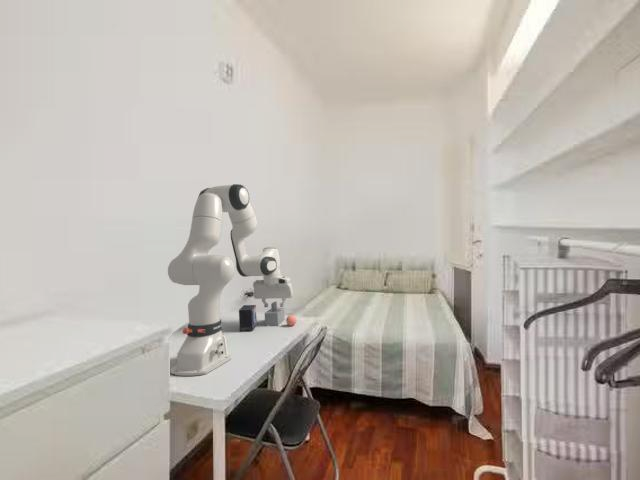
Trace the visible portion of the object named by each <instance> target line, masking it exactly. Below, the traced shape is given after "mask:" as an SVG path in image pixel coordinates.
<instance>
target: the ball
mask: <svg viewBox="0 0 640 480" xmlns="http://www.w3.org/2000/svg"><path fill="white" fill-rule="evenodd" d="M285 321H286V324H287V325H288V326H290V327H291V326H292V327H293V326H295V325H296V323H297V317H296V316H295V315H293V314H291V315H288V316H287V317H286V319H285Z"/></svg>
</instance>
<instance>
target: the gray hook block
mask: <svg viewBox="0 0 640 480" xmlns="http://www.w3.org/2000/svg"><path fill="white" fill-rule="evenodd" d="M285 318H286V317H285V308H284V307H278V302H277V301H273V302H272V303H271V308H270V309H267V311H266V312H264V322H265V323H264V326H265V325H270V326H271V327H277V326H280V325H281V324H282V323H283V322H284V321H286V319H285ZM270 326H269V327H270Z"/></svg>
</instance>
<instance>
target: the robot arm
mask: <svg viewBox="0 0 640 480" xmlns="http://www.w3.org/2000/svg"><path fill="white" fill-rule="evenodd" d="M223 213H227V214H228V216H229V220H230V224H231V226H232V229H231V230H230V240H231V241H230V242H231V245H232V250H233V254H234V257H235V264H234V262H233V260H232V259H231V258H230V257H228V256H224V255H220V254H208V253H209V252H210V250H212V249H213V248H214V247H215V246H217V245H218V244H219V242H220V241H221V236H222V235H221V233H222V223H223ZM257 227H258V218H257V217H256V213H255V211H254V208H253V206H252V204H251V202H250V193H249V191H248V189H247V188H246V187H245V186H244V185H242V184H237V183H234V184H225V185H222V184H221V185H216V186H213V187H212V186H211V187H207V188H204V189H202V190H200V192H199V194H198V197H197V200H196V201H195V205H194V208H193V212H192V218H191V226H190V231H189V236H188V239H187V241H186V244H185V246H184V247H183V249H182V250H181V252H180V253H179V254H178V255H177V256H176V257H174V258H173V259H172V260H171V261H170V262H169V265H168V267H167V275H168V278H169V280H170V281H171V282H172V283H174V284H178V285H182V286H199V288H198V289H199V290H198V294H196V295H195V296H193V297H191V299H190V300H189V301H188V303H187V310H188V311H187V313H188V324H187V327H186V328H183V329H182V334H183V335H187V336H186V337H185V339H184V341H183V343H182V344H181V347H180V349H179V350H178V352H177V355H176V364H174V366H173V367H171V369H169V372H170V371H171V373H172V374H171V373H170V374H171V375H173V374H175V375H174V376H183V377H185V376H187V377H188V376H191V377H192V376H193V377H195V376H200V375H201V376H202V375H206V374H208V373H210V372H213V370H215V369H217V368H219V367H221V365H224V364H225V363H228V362H229V361H231V360H232V356H231V355H230V354H229V352H228V346H227V339H226V336H225V335H224V334H223V331H222V329H223V327H222V326H223V324H222V319H221V313H220V309H221V308H220V301H221V295H222V292H223V290H224V288H225V287H226V285H228V283H230V281H231V280H233V277H234V276H235V271H237V273H238V274H239V275H240V276H241V277H244V278H245V277H247V278H248V277H262V278H263V279H260V280H259V279H256V280H255V281H253V283H252V286H253V299H256V300H260V299H261V302H262V303H263V305H264V308H269V303H267V302H266V300H267V299H281V302H280V303H279V308H284V307H285V302H286V299H291V298H293V297H294V287H293V284H292V283H291V277H289V276H284V275H282V272H281V257H280V252H279V249H278V248H277V247H264V248H263V249H262V252H261V253H260V254H259V255H250V254H249V255H248V253H247V249H246V245H245V238H248V237H249V236H250V235H252V234H253V233H255V231H256V230H257ZM235 267H236V268H235Z"/></svg>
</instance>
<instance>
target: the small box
mask: <svg viewBox="0 0 640 480" xmlns="http://www.w3.org/2000/svg"><path fill="white" fill-rule="evenodd" d="M238 318H239V319H238V320H239V322H238V323H239V332H243V331H244V332H253V331H254V330H255V329H256V327H257V326H258V322H257V305H256V304H246V305H245V304H244V305H243V306H241V307H240V308H239V309H238ZM256 325H257V326H256Z"/></svg>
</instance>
